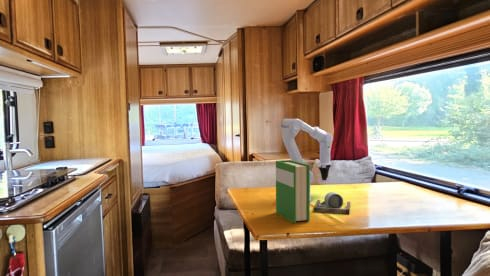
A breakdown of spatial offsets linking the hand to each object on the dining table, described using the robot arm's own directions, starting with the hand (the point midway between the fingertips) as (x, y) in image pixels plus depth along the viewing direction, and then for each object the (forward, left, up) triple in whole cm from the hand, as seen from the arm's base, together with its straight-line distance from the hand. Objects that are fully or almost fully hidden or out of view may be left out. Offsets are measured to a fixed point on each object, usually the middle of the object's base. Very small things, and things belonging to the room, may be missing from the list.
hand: (324, 178), depth 200 cm
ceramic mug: (+5, -26, -10) cm, 28 cm away
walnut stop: (+6, -27, -9) cm, 29 cm away
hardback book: (-10, -46, -10) cm, 48 cm away
